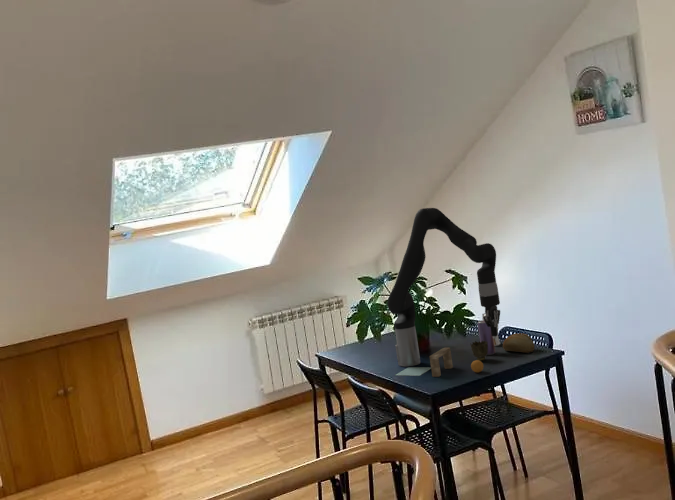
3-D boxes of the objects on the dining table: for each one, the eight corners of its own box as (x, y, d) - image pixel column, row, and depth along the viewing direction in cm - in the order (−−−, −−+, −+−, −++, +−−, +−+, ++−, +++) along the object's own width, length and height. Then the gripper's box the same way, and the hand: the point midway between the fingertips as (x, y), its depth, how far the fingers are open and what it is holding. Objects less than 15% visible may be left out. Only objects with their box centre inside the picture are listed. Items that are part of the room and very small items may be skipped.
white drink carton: (502, 345, 339) (498, 313, 338) (487, 347, 339) (483, 316, 338) (499, 342, 346) (495, 311, 345) (484, 344, 346) (480, 313, 345)
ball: (470, 373, 299) (468, 362, 298) (474, 370, 303) (473, 358, 302) (481, 374, 296) (479, 362, 295) (486, 370, 300) (484, 358, 300)
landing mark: (395, 375, 315) (395, 375, 315) (408, 367, 324) (408, 367, 324) (419, 375, 308) (419, 375, 308) (432, 367, 318) (432, 367, 318)
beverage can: (492, 355, 323) (487, 322, 322) (479, 355, 327) (475, 322, 325) (497, 352, 328) (493, 319, 327) (485, 352, 331) (480, 319, 330)
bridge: (432, 376, 303) (429, 356, 303) (446, 367, 315) (443, 347, 314) (438, 376, 302) (435, 356, 301) (453, 367, 313) (450, 347, 313)
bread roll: (510, 348, 332) (507, 331, 331) (540, 349, 321) (537, 331, 321) (499, 353, 325) (496, 336, 324) (529, 355, 314) (526, 337, 314)
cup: (479, 357, 323) (476, 340, 322) (493, 358, 317) (490, 340, 317) (469, 362, 318) (466, 344, 317) (483, 363, 312) (481, 345, 312)
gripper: (486, 291, 299) (492, 332, 300) (473, 297, 288) (479, 340, 289) (503, 289, 295) (509, 331, 296) (491, 296, 284) (497, 339, 285)
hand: (494, 335), depth 293 cm, fingers closed
